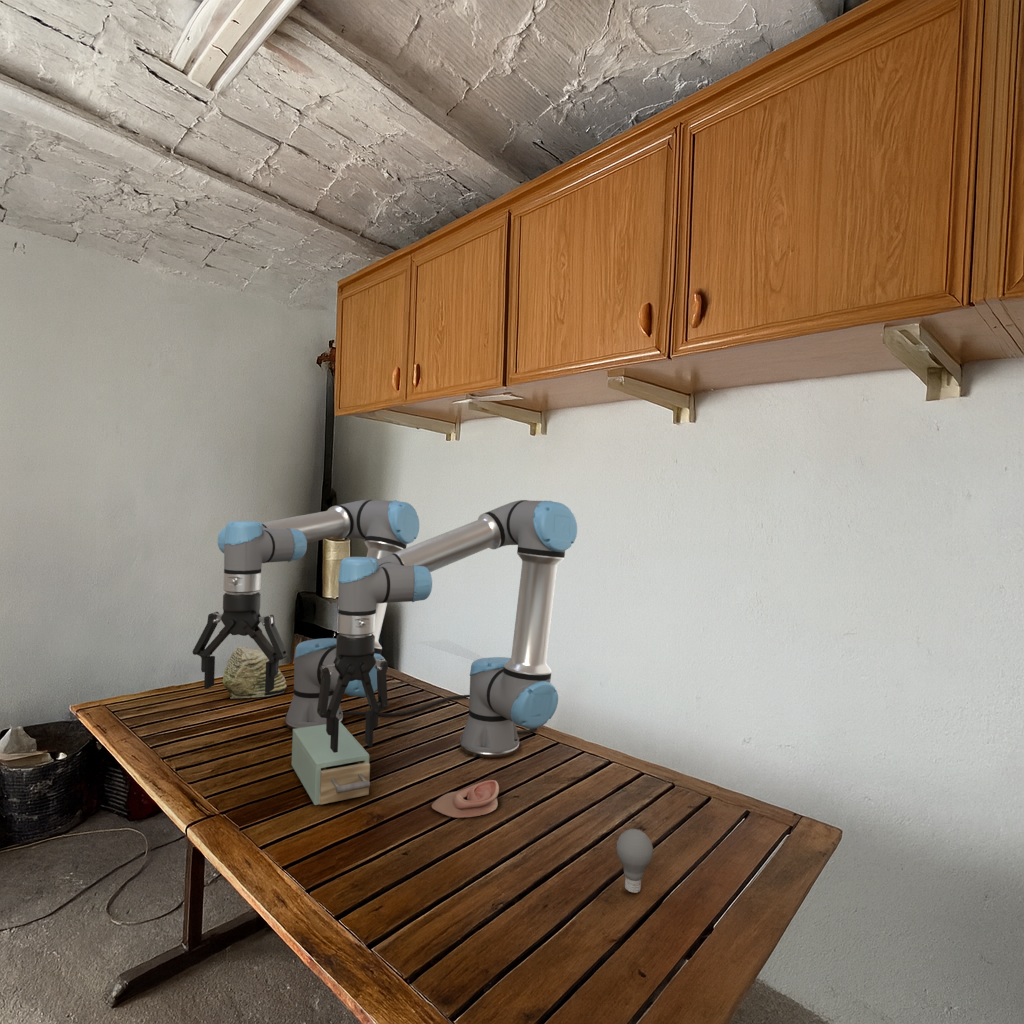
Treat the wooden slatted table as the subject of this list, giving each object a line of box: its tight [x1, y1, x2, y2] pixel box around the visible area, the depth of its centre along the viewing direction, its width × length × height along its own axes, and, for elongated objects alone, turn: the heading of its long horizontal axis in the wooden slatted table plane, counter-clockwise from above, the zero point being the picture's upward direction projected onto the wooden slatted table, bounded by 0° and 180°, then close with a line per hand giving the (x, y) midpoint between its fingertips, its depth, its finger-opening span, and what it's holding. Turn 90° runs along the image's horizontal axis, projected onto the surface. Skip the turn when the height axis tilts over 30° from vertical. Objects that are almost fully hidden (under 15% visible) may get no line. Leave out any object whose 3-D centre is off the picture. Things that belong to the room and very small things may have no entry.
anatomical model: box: [431, 779, 500, 819], centre depth 132 cm, size 13×4×12 cm
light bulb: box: [615, 828, 654, 894], centre depth 106 cm, size 6×6×10 cm
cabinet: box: [291, 722, 370, 806], centre depth 142 cm, size 22×11×9 cm, turn 31°
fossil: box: [222, 646, 288, 699], centre depth 198 cm, size 9×18×15 cm, turn 132°
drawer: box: [319, 761, 371, 805], centre depth 137 cm, size 26×10×6 cm, turn 31°
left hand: (239, 689), depth 138 cm, fingers open, 13 cm apart
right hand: (351, 746), depth 128 cm, fingers open, 6 cm apart
